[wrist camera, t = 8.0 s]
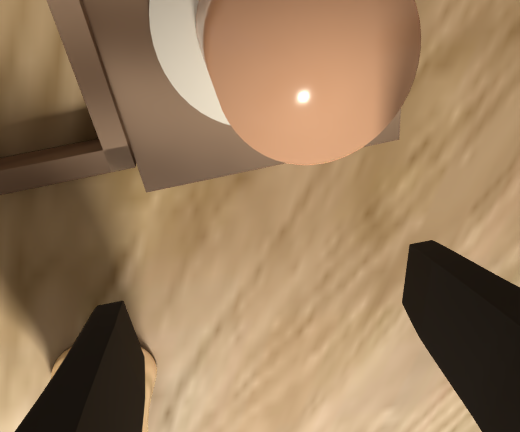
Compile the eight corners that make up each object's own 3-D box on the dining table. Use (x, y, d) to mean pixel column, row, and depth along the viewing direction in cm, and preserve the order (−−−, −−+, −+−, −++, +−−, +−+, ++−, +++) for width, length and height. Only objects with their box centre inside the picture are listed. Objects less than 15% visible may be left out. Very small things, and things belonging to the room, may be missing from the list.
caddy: (-278, -113, 12) (-330, -121, 11) (402, -206, 14) (426, -223, 12) (-52, 223, 19) (-68, 242, 17) (389, 132, 20) (404, 143, 19)
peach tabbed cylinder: (208, 103, 17) (229, 180, 11) (169, -118, 13) (170, -189, 7) (327, 84, 17) (410, 147, 11) (324, -135, 13) (446, -212, 7)
